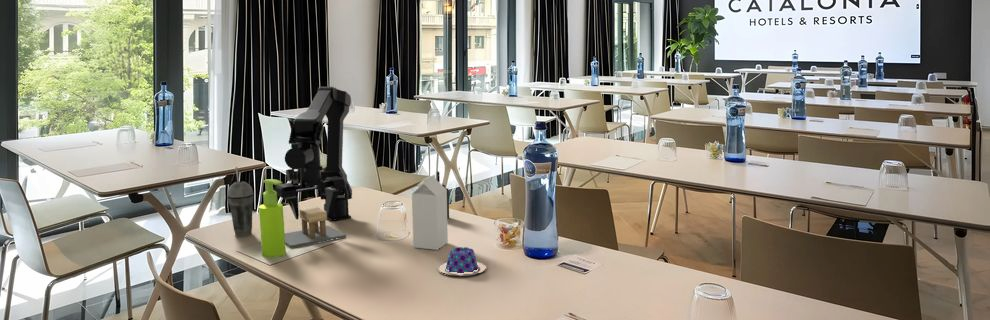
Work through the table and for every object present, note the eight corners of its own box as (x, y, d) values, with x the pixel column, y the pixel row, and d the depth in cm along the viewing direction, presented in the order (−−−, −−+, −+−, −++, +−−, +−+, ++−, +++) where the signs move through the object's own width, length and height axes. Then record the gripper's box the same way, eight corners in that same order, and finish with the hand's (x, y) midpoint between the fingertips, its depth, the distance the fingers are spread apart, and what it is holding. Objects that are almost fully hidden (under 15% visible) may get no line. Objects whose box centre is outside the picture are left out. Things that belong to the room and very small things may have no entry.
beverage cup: (261, 231, 203) (256, 163, 200) (250, 238, 196) (244, 169, 193) (237, 230, 204) (231, 163, 200) (225, 237, 197) (219, 168, 193)
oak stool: (327, 235, 196) (326, 211, 195) (310, 238, 193) (309, 214, 192) (317, 229, 202) (316, 206, 200) (300, 233, 199) (299, 209, 197)
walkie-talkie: (442, 215, 219) (441, 169, 216) (450, 217, 217) (449, 170, 214) (432, 219, 215) (431, 171, 212) (440, 221, 213) (439, 173, 210)
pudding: (437, 263, 176) (437, 243, 175) (485, 261, 177) (484, 242, 176) (437, 280, 164) (437, 259, 163) (488, 278, 165) (488, 257, 164)
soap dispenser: (275, 259, 178) (270, 183, 174) (257, 255, 182) (252, 180, 178) (293, 253, 183) (288, 179, 179) (275, 249, 187) (270, 176, 183)
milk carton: (447, 242, 191) (446, 175, 188) (437, 250, 185) (435, 180, 181) (424, 240, 194) (422, 173, 190) (413, 248, 187) (411, 178, 183)
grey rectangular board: (328, 228, 206) (328, 225, 206) (346, 237, 197) (345, 234, 197) (275, 237, 197) (275, 235, 197) (291, 248, 187) (290, 245, 187)
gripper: (329, 154, 205) (331, 205, 208) (266, 161, 194) (270, 216, 197) (345, 159, 196) (348, 213, 199) (280, 168, 185) (284, 224, 188)
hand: (312, 216), depth 196 cm, fingers open, 9 cm apart
